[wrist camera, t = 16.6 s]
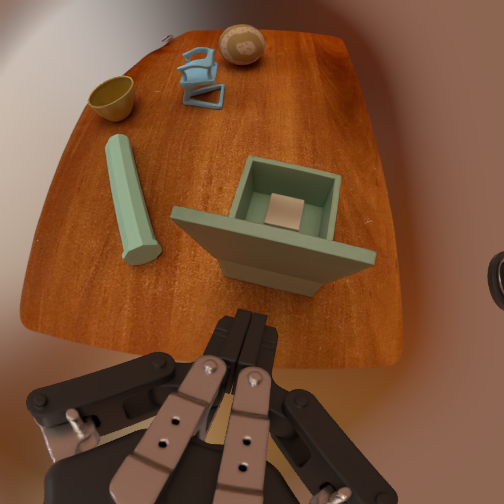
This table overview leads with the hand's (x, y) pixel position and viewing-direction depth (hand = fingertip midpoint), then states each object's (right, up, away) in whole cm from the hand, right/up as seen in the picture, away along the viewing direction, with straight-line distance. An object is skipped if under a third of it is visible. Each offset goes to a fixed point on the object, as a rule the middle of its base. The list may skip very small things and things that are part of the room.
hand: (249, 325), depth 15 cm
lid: (+2, +4, +10) cm, 11 cm away
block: (+5, +7, +29) cm, 30 cm away
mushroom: (-2, +50, +45) cm, 68 cm away
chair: (-10, +35, +40) cm, 54 cm away
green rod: (-20, +13, +32) cm, 40 cm away
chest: (+4, +5, +29) cm, 30 cm away
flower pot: (-28, +33, +40) cm, 59 cm away
